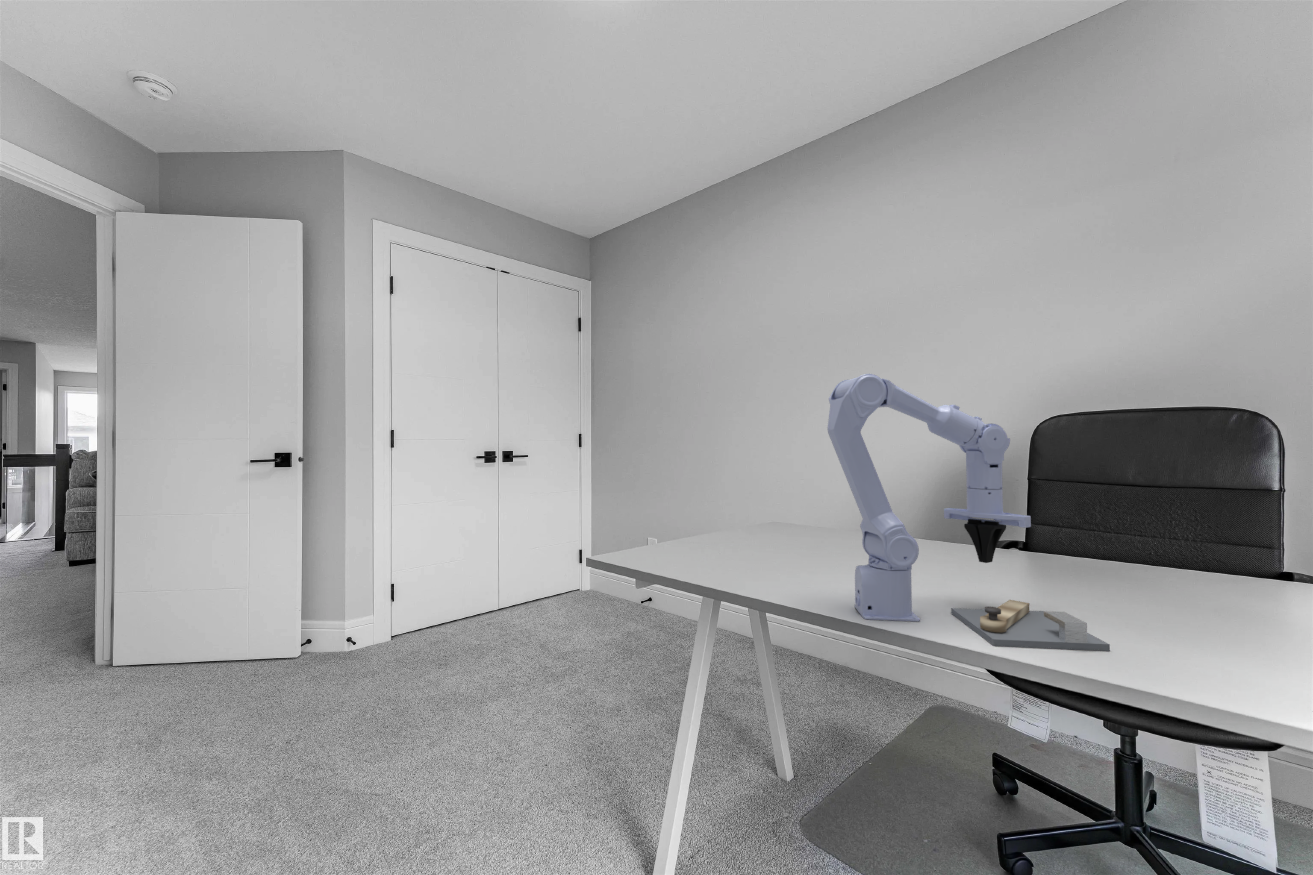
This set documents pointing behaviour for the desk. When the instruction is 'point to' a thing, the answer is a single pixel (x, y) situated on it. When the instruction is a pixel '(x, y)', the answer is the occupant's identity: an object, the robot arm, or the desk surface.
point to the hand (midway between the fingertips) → (985, 561)
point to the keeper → (1069, 627)
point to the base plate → (1026, 632)
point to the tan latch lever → (1003, 616)
